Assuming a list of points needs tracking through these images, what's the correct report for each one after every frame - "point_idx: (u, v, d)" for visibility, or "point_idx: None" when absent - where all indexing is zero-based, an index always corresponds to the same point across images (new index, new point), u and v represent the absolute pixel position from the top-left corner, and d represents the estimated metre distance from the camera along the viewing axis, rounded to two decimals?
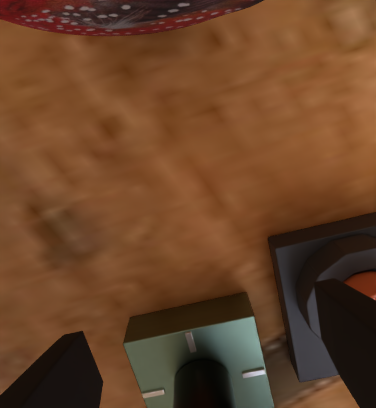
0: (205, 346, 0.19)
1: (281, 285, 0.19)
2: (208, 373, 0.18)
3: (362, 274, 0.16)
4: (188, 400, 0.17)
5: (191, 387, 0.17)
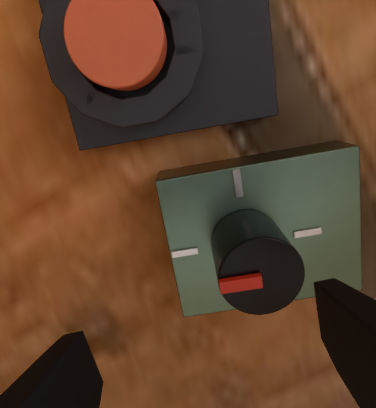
0: (194, 236, 0.16)
1: (129, 141, 0.16)
2: (213, 243, 0.15)
3: None
4: None
5: None
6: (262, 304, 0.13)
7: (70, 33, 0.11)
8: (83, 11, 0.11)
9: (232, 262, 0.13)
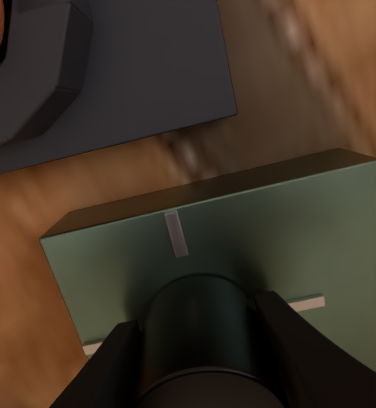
0: (117, 319, 0.10)
1: None
2: (140, 340, 0.09)
3: None
4: None
5: None
6: None
7: None
8: None
9: None
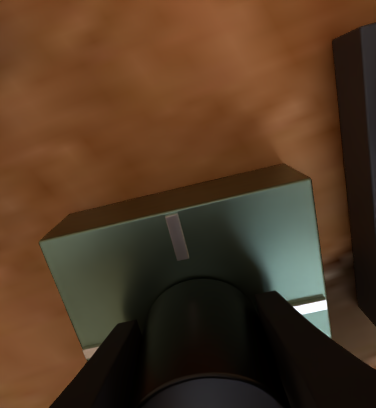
0: (208, 250, 0.09)
1: (364, 123, 0.09)
2: None
3: None
4: None
5: None
6: None
7: None
8: None
9: None
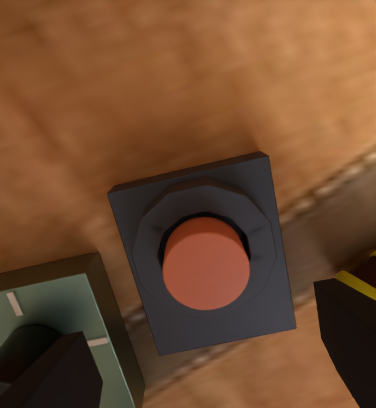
0: (34, 310, 0.16)
1: (122, 239, 0.16)
2: None
3: (193, 219, 0.14)
4: None
5: None
6: None
7: (205, 238, 0.12)
8: (223, 249, 0.12)
9: None
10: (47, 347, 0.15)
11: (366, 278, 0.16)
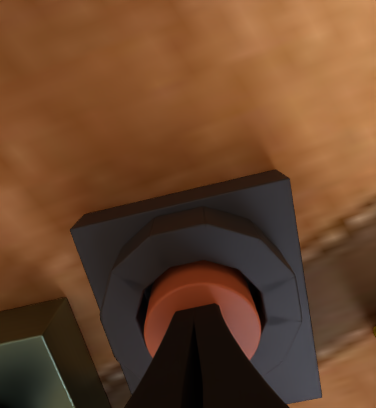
0: None
1: None
2: None
3: None
4: None
5: None
6: None
7: (201, 291, 0.09)
8: (225, 305, 0.09)
9: None
10: None
11: None
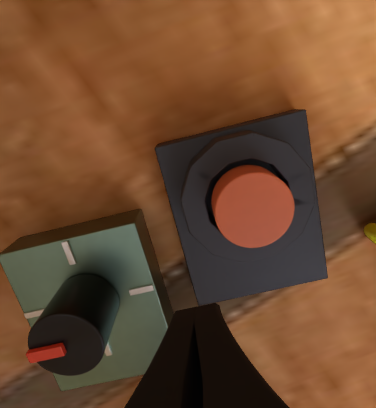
0: (86, 259, 0.17)
1: (167, 192, 0.17)
2: None
3: (238, 166, 0.15)
4: None
5: None
6: (72, 367, 0.15)
7: (255, 178, 0.14)
8: (271, 188, 0.14)
9: (36, 335, 0.15)
10: (100, 291, 0.17)
11: None
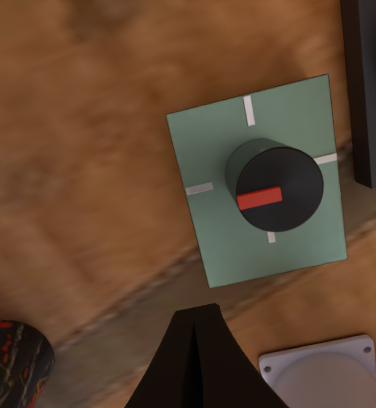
0: (266, 120, 0.15)
1: (359, 44, 0.15)
2: (228, 172, 0.15)
3: None
4: None
5: (232, 197, 0.15)
6: (282, 220, 0.13)
7: None
8: None
9: (249, 176, 0.12)
10: None
11: None
